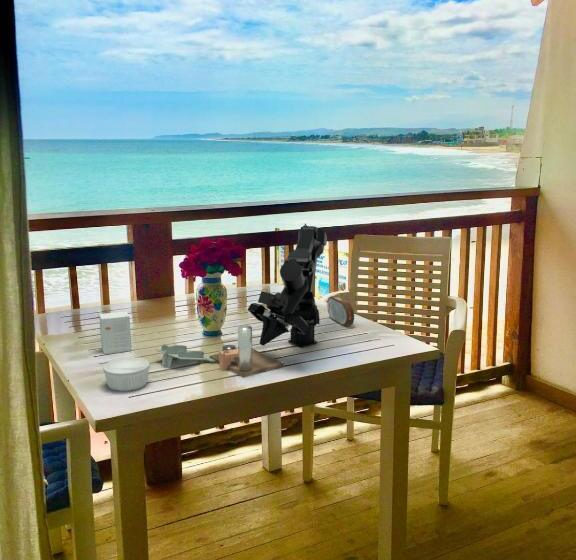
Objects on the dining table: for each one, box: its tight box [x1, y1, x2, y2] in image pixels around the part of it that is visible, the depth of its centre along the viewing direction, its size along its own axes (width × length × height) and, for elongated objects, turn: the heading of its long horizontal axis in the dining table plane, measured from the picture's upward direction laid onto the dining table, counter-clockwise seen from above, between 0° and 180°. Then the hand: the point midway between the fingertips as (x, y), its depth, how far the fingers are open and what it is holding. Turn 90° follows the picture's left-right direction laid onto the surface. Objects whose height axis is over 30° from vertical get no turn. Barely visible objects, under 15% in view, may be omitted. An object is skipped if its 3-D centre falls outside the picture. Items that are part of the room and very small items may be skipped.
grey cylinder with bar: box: [221, 324, 253, 371], centre depth 171 cm, size 16×4×11 cm, turn 26°
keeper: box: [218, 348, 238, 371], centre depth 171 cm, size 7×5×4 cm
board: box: [209, 347, 285, 378], centre depth 175 cm, size 13×17×1 cm
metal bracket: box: [154, 344, 216, 369], centre depth 176 cm, size 14×6×15 cm
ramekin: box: [102, 356, 151, 392], centre depth 159 cm, size 11×11×5 cm
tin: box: [327, 294, 355, 327], centre depth 212 cm, size 15×3×8 cm, turn 22°
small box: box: [98, 311, 132, 355], centre depth 184 cm, size 8×6×10 cm
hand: (261, 344), depth 170 cm, fingers closed
